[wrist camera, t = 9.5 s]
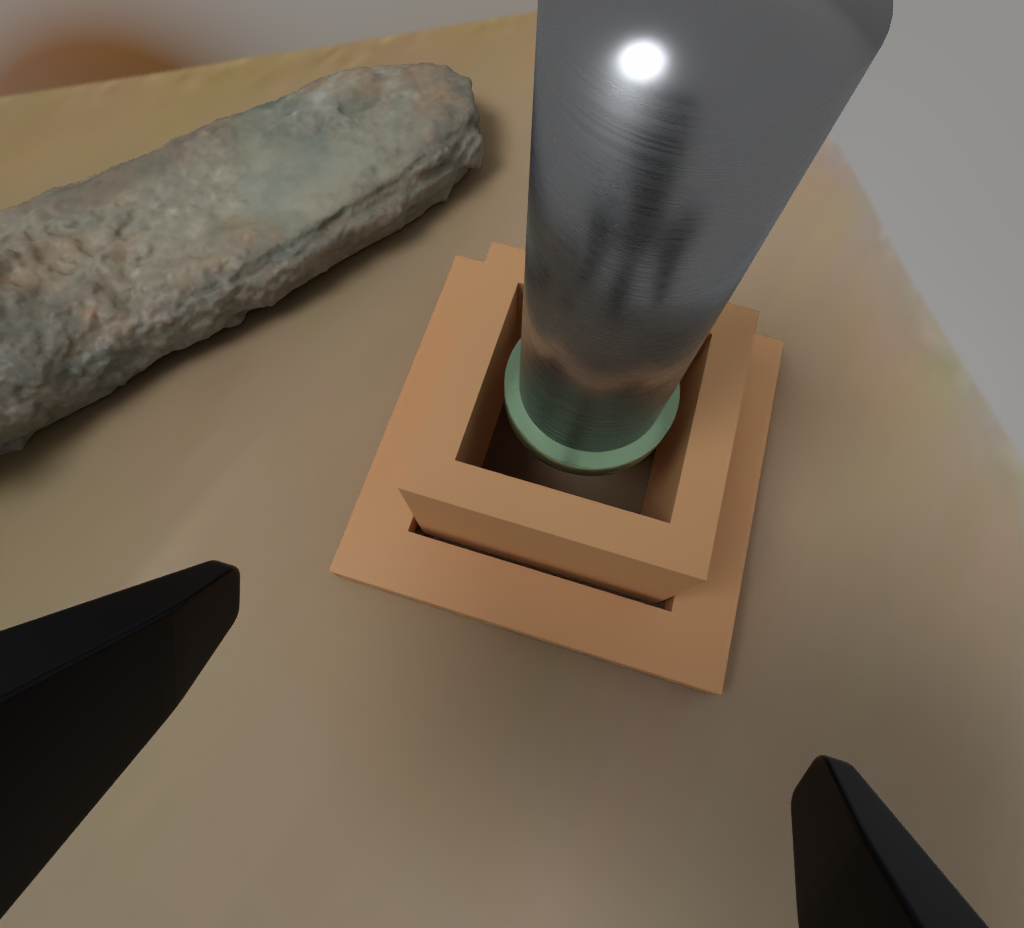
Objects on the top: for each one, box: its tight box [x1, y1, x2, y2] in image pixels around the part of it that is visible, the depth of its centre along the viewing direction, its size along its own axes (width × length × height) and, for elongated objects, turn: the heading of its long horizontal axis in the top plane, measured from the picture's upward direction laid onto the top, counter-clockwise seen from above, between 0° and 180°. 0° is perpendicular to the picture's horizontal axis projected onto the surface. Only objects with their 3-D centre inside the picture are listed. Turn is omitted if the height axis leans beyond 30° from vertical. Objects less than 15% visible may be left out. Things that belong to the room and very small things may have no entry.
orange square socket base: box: [329, 242, 784, 695], centre depth 20 cm, size 13×13×6 cm
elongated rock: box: [0, 63, 485, 456], centre depth 23 cm, size 35×5×10 cm
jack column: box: [504, 0, 893, 476], centre depth 12 cm, size 5×5×12 cm
